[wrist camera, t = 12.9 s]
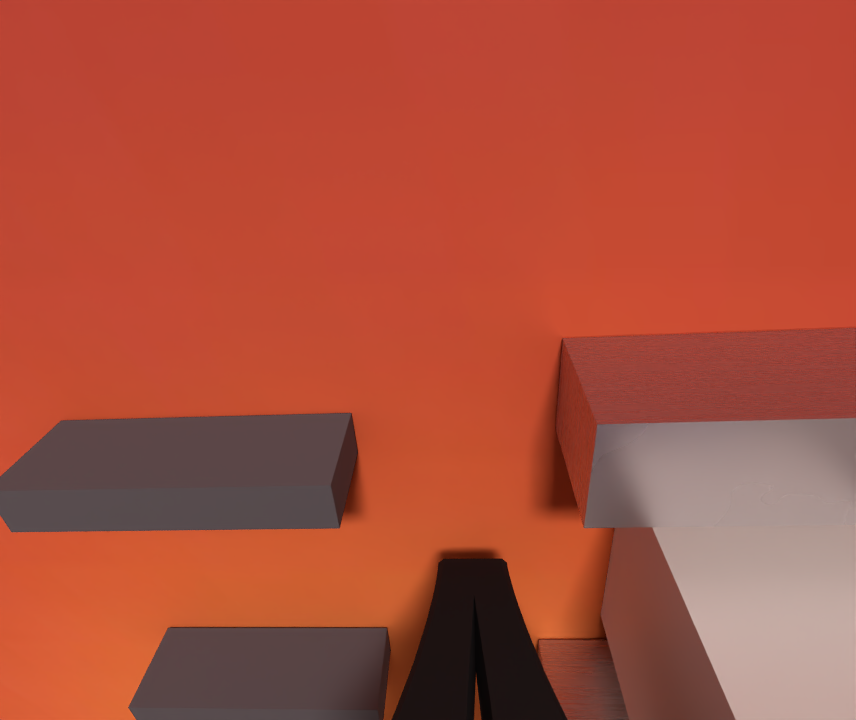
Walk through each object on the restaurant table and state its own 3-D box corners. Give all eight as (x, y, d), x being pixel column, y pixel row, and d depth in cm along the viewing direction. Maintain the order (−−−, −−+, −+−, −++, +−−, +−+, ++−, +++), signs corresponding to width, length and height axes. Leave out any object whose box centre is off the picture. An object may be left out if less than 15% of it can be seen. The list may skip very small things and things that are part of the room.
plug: (600, 613, 13) (699, 976, 8) (624, 463, 11) (791, 850, 5) (763, 612, 13) (977, 987, 8) (828, 458, 10) (1209, 858, 5)
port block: (535, 681, 15) (553, 815, 12) (562, 338, 9) (607, 448, 7) (946, 684, 14) (1060, 826, 11) (1244, 314, 8) (1598, 427, 6)
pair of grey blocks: (179, 648, 14) (142, 728, 13) (61, 420, 11) (-16, 491, 9) (390, 650, 14) (382, 732, 12) (351, 412, 10) (330, 485, 8)
